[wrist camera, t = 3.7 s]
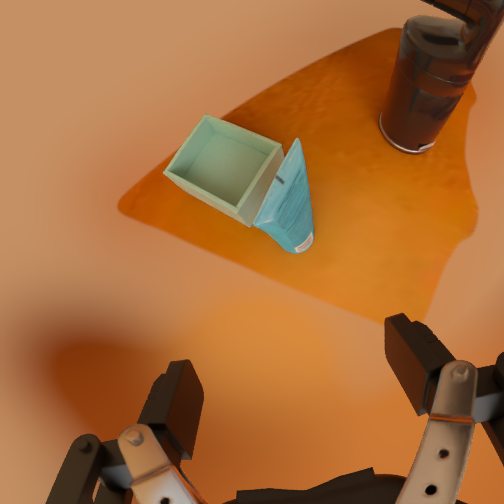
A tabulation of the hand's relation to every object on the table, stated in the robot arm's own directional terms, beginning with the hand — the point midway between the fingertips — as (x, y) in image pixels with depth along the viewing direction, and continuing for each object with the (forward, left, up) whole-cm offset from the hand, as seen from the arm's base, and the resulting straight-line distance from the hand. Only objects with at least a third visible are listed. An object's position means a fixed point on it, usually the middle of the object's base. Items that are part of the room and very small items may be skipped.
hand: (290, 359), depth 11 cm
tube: (-9, -7, -27) cm, 29 cm away
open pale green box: (-12, -19, -27) cm, 35 cm away
